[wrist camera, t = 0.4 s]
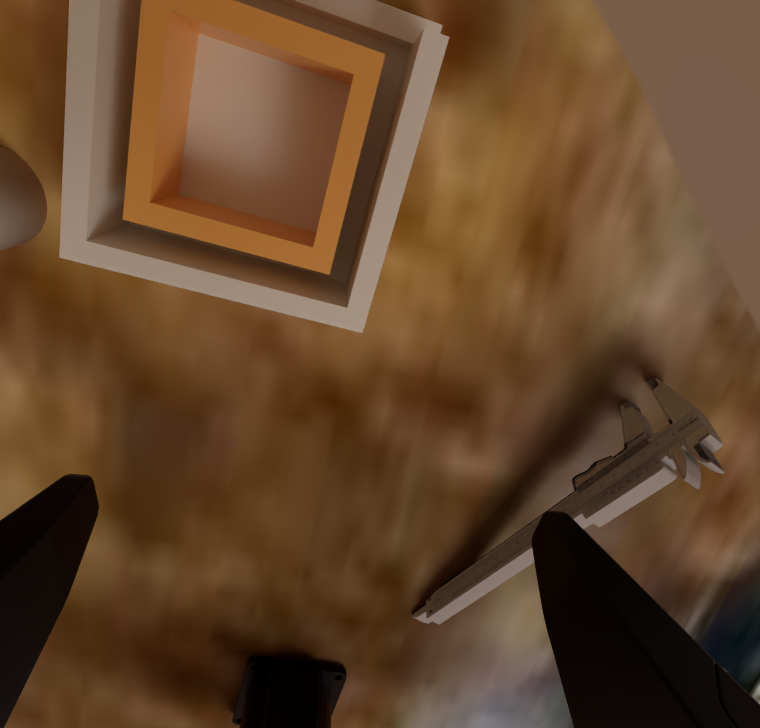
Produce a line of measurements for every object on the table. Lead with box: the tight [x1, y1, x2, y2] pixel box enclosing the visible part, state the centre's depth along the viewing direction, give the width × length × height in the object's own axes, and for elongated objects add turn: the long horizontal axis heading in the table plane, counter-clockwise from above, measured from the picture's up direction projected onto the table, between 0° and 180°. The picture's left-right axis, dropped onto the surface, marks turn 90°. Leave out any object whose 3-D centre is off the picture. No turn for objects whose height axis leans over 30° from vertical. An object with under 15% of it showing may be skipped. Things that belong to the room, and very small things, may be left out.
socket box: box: [59, 0, 449, 333], centre depth 18 cm, size 11×11×4 cm
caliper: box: [413, 378, 725, 624], centre depth 26 cm, size 20×1×6 cm, turn 144°
